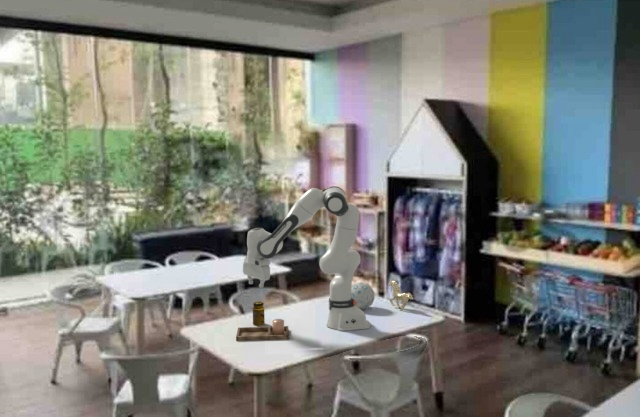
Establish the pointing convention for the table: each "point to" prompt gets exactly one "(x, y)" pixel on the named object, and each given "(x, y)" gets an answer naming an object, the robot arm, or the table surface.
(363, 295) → the puzzle ball
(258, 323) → the condiment
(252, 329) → the caddy
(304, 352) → the table surface
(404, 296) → the golden horse figurine
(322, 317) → the table surface
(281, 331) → the beige cylinder
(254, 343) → the table surface
